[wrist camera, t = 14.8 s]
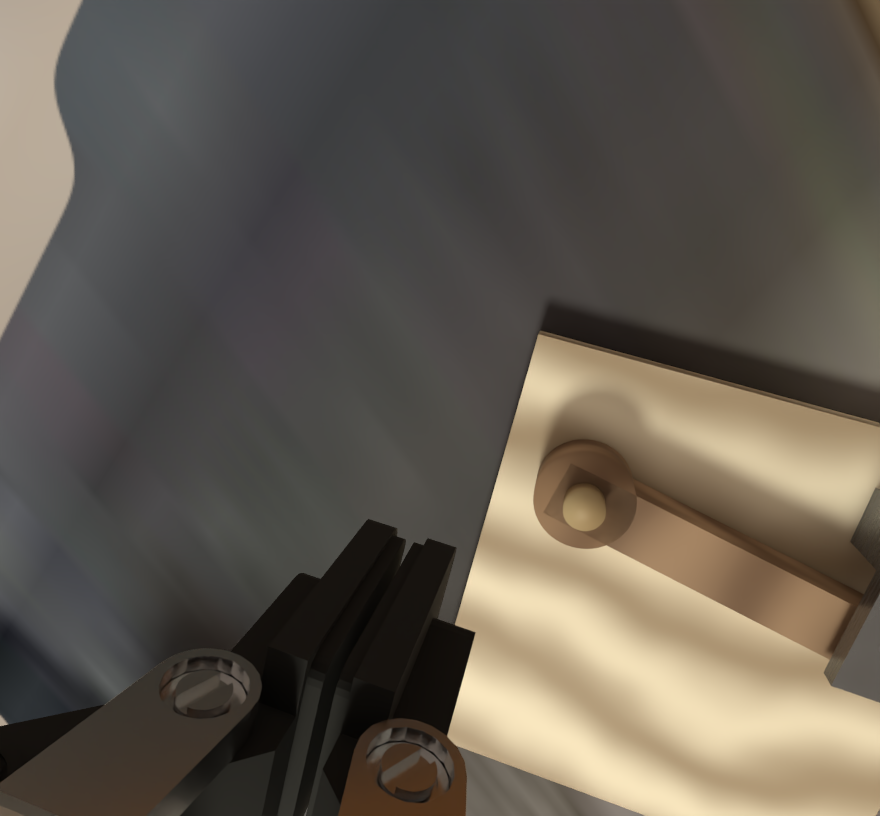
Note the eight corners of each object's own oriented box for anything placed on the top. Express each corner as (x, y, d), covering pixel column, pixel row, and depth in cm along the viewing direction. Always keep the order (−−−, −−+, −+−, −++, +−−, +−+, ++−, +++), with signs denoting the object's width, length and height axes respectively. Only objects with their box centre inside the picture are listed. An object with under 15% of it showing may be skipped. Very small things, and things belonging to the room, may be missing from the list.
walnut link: (520, 501, 35) (513, 529, 32) (563, 422, 34) (561, 443, 30) (876, 683, 34) (910, 734, 30) (938, 609, 32) (981, 654, 29)
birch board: (540, 330, 35) (538, 334, 33) (1044, 467, 31) (1066, 478, 30) (429, 716, 42) (423, 733, 41) (826, 862, 39) (836, 886, 37)
